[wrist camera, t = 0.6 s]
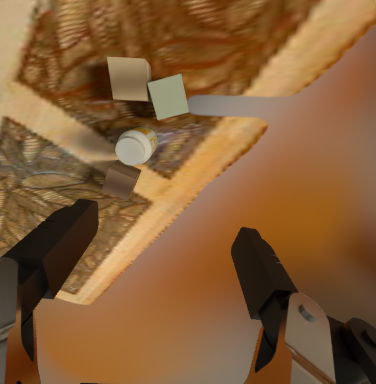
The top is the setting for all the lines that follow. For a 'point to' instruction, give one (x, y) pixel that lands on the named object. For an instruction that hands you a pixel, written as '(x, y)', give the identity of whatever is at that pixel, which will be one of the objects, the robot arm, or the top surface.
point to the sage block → (168, 96)
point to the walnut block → (121, 179)
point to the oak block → (130, 78)
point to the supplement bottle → (136, 145)
